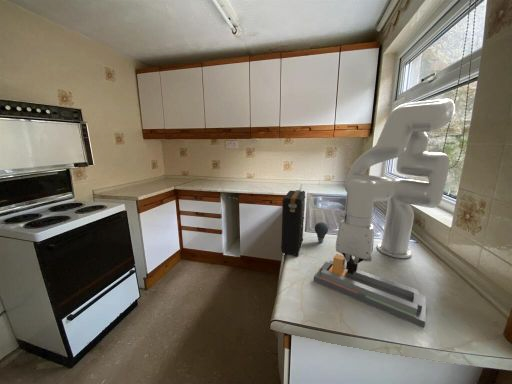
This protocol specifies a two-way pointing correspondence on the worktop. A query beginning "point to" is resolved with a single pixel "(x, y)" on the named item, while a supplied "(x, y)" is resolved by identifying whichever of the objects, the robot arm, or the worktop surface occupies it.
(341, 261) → the handle
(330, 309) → the worktop surface
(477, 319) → the worktop surface
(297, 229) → the black case
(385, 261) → the worktop surface
